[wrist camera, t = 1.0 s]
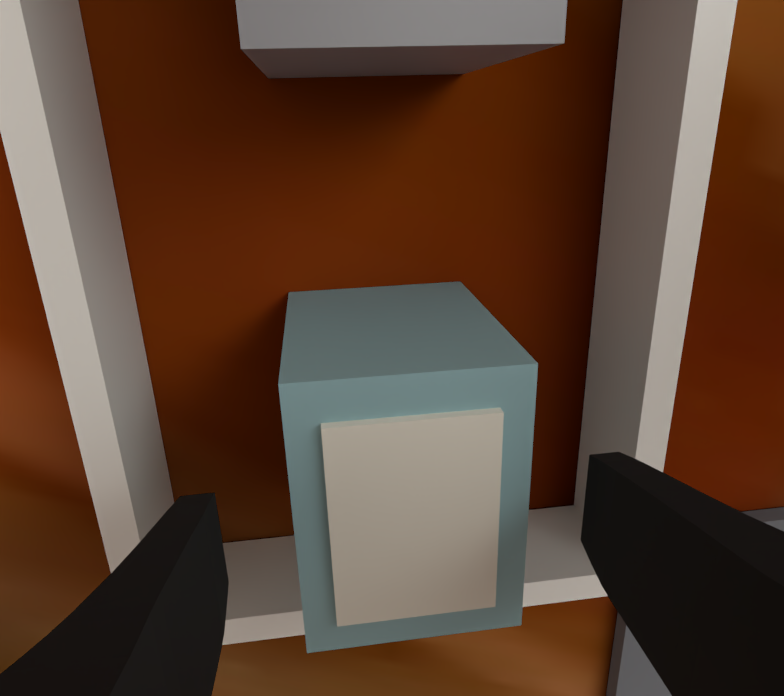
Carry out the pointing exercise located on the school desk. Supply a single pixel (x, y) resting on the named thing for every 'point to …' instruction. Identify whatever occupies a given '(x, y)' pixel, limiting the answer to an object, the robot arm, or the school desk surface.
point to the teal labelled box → (405, 462)
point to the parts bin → (124, 336)
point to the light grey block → (394, 35)
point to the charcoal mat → (628, 661)
